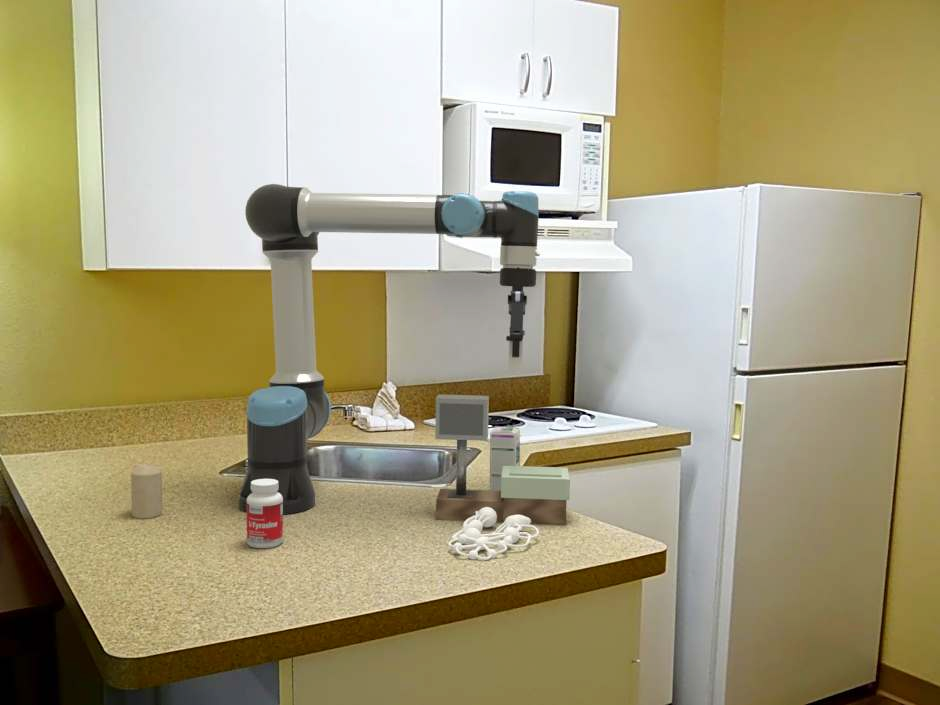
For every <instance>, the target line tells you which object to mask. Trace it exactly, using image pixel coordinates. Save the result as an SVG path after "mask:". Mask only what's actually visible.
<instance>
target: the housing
mask: <svg viewBox="0 0 940 705" xmlns="http://www.w3.org/2000/svg"><path fill="white" fill-rule="evenodd" d="M435 506H436V507H435V520H438V521H439V520H440V521H460V522H461V521H464V522H465V521H466V520H467V519H468V518H470V517H472V516H475V515H476V514H475V512H476V511H478V512H479V510H480V509H482V508H484V507H490V508H492V509H493V510H494V511H495V512H496V514H497V520H496V522H495V523H504V521H505V520H506V518H507V517H509V516H512V515H523V516H525V517H528V518H530V520H531V523H530V524H542V525H544V524H545V525H547V524H548V525H567V524H566V522H567V500H552V499H524V498H501V491H492V490H490V489H488V490H487V489H466V494H465V495H457V494H456V488H440V489H439V492H438V494H437V496H436V499H435ZM476 520H477V519H476Z"/></svg>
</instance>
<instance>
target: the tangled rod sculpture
mask: <svg viewBox="0 0 940 705" xmlns="http://www.w3.org/2000/svg"><path fill="white" fill-rule="evenodd" d="M475 514H476V515H475V516H472V517H470V518H468V519H467V520H466V521H464V522H463V524H462V528H461V529H460V530H458V531H457V532H455V533H454V534H453V535H452V536H451V537H450V539H451V540H450V541H449V542H448V543H447V544H448V546H449V547H450V548H452V551H453V552H455V553H456V554H459V555H461V556H462V557H463V556H464V557H468V558H469V560H474V561H475V560H477V559H478V560H483V561H489V560H490V559H496V558H497V557H498V556H497V555H499V554H500V555H501V554H503V553H505V552H507V550H508V547H510V548H517V549H519V548H525V547H527V546H529V544H530V543H531V542H530V541H531V539H535V538H537V537H538V536H539V535H540V531H539V530H540V529H538V528H537V526H535V525H532V523H531V520H530V518H528V517H525V516H523V515H512V516H509V517H507V518H506V520H505V521H504V522H502V524H500V525H499V526H498V527H497V528H496V529H495V530H494V531H493V532H491V533H484V534H483V533H482V531H483V528H491V527H493V526H494V525H495V524H496V523H497V522H496V520H497V514H496V512H495V511H494V510H493V509H492V508H490V507H484V508H482V509H480V510H479V512H478V511H476V512H475ZM476 519H477V520H476ZM523 528H526V529H528V528H529V529H534V530H535V532H536V533H535V534H534V535H531V534H530V533H529V532H526V531H521V530H522V529H523ZM500 539H501V540H500ZM519 539H521V540H527V541H526V542H525V543H524V544H515V543H517V542H518V541H519ZM497 540H499V541H497ZM494 541H497V542H494ZM452 543H453V544H452ZM462 544H464V545H462ZM489 546H493V547H497V549H499V550H498V551H497V550H496V549H494V548H489ZM474 548H475V549H474ZM468 549H473V550H470V551H468V553H465V552H462V551H463V550H468ZM483 550H485V551H487V552H486V556H485V557H483V556H480V555H479V552H480V551H483Z"/></svg>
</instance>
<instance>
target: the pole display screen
mask: <svg viewBox="0 0 940 705" xmlns="http://www.w3.org/2000/svg"><path fill="white" fill-rule="evenodd" d="M489 401H490V396H489V395H479V394H478V395H472V394H438V395H437V396H436V398H435V425H434V426H435V428H434V429H435V434H434V435H435V436H434V437H435V438H434V439H435V440H452V441H456V471H455V472H456V475H455V478H456V480H455V489H456V494H457V495H465V494H466V490H467V471H468V470H467V466H468V464H467V463H468V462H467V461H468V459H467V458H468V441H479V442H480V441H482V442H486V441H488V438H489V414H490V413H489V406H490V405H489V404H490V402H489Z"/></svg>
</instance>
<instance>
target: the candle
mask: <svg viewBox="0 0 940 705" xmlns="http://www.w3.org/2000/svg"><path fill="white" fill-rule="evenodd" d="M162 471H163V470H162V469H161V468H159V467H158V466H157V465H155V464H151V463H144V462H141V463H139V464H138V465H136V467H134V468H133V470H132V471H131V472H130V479H131V480H130V482H131V483H130V486H131V487H130V489H131V516H132V518H134V519H141V520H142V519H155V518H158V517H160V516H162V515H163V478H162V477H163V475H162V473H163V472H162Z"/></svg>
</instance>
